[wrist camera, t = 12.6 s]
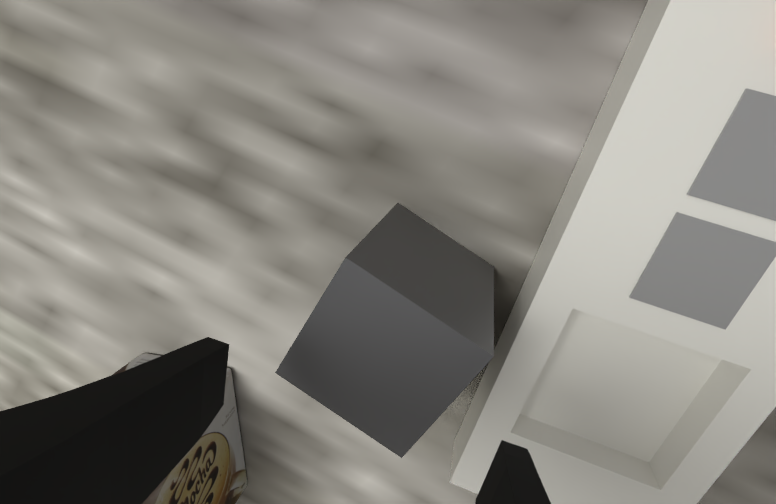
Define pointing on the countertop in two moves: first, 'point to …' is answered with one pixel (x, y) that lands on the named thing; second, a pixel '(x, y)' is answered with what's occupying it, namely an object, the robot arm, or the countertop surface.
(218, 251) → the countertop surface
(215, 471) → the coffee box
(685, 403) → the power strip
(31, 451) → the robot arm
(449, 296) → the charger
